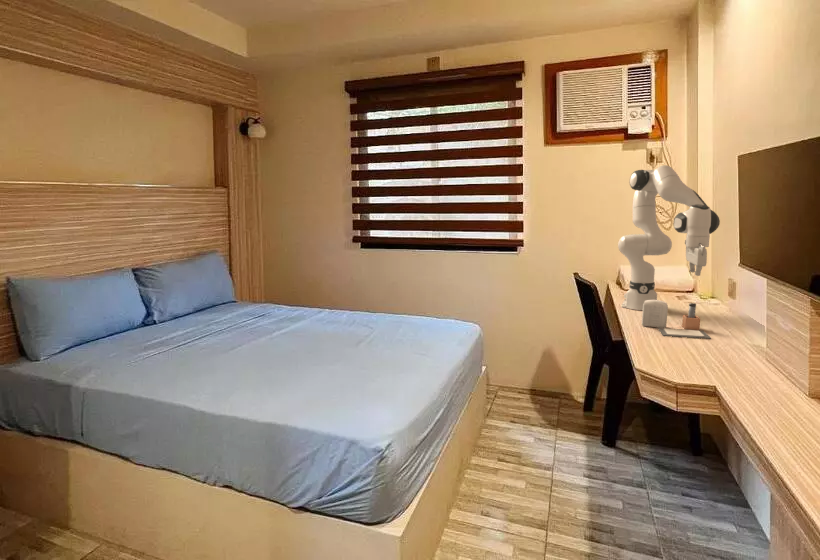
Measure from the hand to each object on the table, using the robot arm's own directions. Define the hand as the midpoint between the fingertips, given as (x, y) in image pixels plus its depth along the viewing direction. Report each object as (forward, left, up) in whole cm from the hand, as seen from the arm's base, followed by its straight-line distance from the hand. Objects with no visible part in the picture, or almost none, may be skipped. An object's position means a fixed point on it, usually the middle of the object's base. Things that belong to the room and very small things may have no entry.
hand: (694, 273), depth 223 cm
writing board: (+10, -5, -25) cm, 27 cm away
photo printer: (-1, -15, -25) cm, 29 cm away
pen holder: (0, 0, -25) cm, 25 cm away
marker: (0, 0, -24) cm, 24 cm away
